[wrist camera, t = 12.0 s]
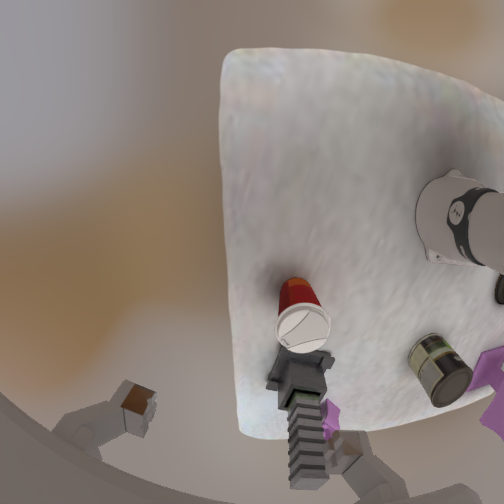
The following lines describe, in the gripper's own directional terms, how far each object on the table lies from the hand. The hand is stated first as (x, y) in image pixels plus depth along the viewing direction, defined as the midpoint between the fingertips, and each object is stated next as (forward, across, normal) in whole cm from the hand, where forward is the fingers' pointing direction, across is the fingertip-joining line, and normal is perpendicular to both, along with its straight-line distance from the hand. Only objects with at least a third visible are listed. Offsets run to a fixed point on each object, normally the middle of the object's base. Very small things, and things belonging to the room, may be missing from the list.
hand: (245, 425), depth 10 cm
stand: (+37, -13, +24) cm, 46 cm away
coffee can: (+37, -42, +15) cm, 58 cm away
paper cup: (+37, -8, +7) cm, 39 cm away
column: (+27, -13, +24) cm, 38 cm away
